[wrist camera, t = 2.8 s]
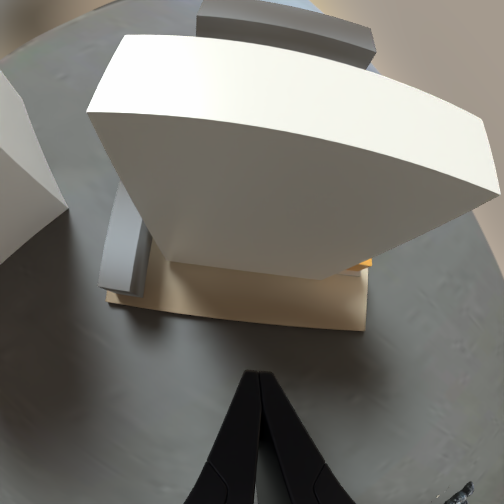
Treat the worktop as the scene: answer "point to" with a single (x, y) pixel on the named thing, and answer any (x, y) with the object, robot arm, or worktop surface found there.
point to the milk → (22, 176)
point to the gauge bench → (228, 280)
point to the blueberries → (461, 495)
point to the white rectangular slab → (282, 155)
